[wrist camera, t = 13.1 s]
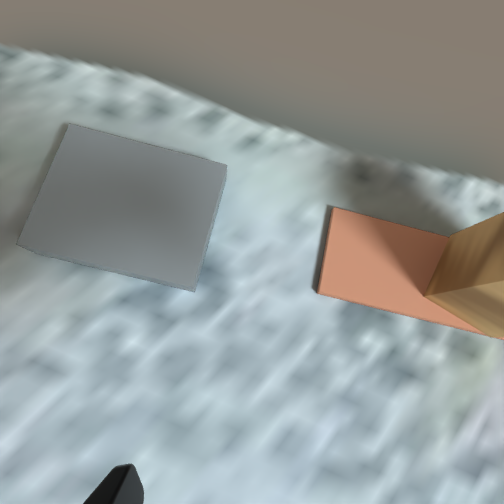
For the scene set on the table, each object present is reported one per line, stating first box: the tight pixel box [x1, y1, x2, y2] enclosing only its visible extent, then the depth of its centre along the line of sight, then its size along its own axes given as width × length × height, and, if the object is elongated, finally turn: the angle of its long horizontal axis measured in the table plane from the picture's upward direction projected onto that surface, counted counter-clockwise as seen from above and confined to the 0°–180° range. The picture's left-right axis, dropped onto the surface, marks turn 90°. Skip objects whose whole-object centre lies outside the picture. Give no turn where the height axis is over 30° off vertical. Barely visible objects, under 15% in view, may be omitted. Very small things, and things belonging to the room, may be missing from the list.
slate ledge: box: [16, 123, 227, 292], centre depth 21 cm, size 10×8×2 cm
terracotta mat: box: [317, 207, 504, 340], centre depth 23 cm, size 20×6×1 cm, turn 77°
